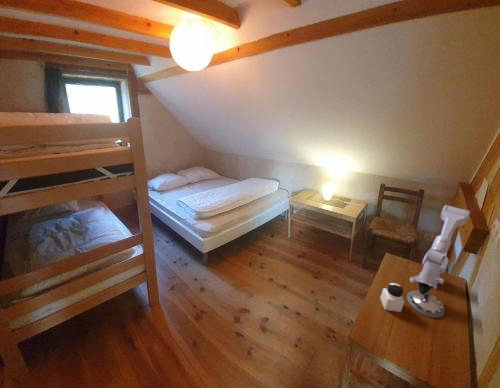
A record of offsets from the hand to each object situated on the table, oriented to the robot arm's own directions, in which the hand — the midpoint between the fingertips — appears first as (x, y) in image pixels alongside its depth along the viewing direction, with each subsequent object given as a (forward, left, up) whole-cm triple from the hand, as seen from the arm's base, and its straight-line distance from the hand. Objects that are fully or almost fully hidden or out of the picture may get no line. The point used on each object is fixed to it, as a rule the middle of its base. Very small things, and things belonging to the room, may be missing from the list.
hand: (421, 293), depth 114 cm
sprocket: (+3, +2, -2) cm, 4 cm away
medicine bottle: (+14, -11, -4) cm, 18 cm away
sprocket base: (+3, +2, -3) cm, 5 cm away
